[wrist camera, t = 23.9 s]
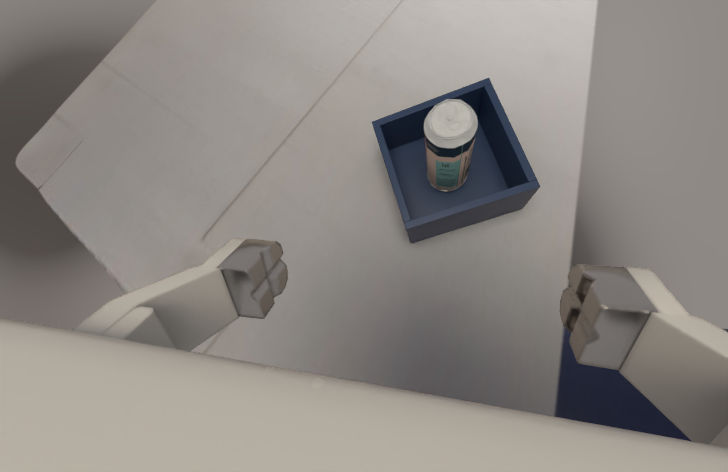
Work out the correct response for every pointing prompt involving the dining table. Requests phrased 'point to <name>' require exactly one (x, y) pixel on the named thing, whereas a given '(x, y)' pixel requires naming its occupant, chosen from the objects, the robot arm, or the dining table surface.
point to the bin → (485, 175)
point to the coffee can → (449, 143)
